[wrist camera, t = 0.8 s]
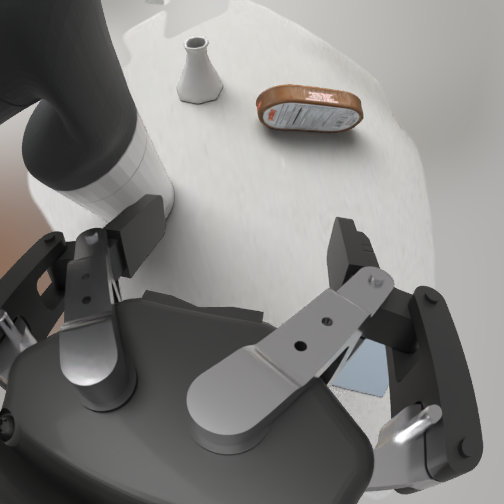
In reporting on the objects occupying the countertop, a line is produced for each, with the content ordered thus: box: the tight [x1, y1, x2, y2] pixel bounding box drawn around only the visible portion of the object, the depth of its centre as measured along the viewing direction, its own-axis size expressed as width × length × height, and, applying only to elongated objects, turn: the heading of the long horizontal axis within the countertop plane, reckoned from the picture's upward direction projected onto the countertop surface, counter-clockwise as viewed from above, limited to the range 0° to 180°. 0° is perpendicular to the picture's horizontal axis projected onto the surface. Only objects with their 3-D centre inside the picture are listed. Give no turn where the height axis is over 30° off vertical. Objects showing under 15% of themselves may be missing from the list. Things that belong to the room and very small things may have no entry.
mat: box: [331, 339, 389, 397], centre depth 34 cm, size 13×13×1 cm
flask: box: [177, 36, 223, 104], centre depth 31 cm, size 7×7×10 cm
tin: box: [256, 84, 363, 133], centre depth 33 cm, size 15×3×8 cm, turn 94°
